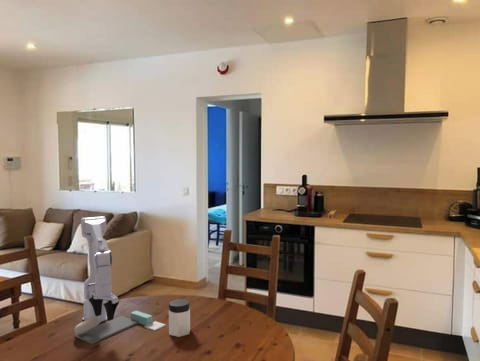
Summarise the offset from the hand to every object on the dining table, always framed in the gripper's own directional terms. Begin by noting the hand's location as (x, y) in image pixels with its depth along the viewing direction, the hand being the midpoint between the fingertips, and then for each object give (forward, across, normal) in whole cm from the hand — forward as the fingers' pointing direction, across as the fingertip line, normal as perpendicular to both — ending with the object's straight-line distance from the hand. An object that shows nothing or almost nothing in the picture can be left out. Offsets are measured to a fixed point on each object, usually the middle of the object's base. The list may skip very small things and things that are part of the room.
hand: (104, 317), depth 151 cm
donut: (+1, -2, -3) cm, 4 cm away
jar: (+8, +20, +20) cm, 30 cm away
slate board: (+8, -5, +5) cm, 11 cm away
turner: (+8, +3, +18) cm, 20 cm away
